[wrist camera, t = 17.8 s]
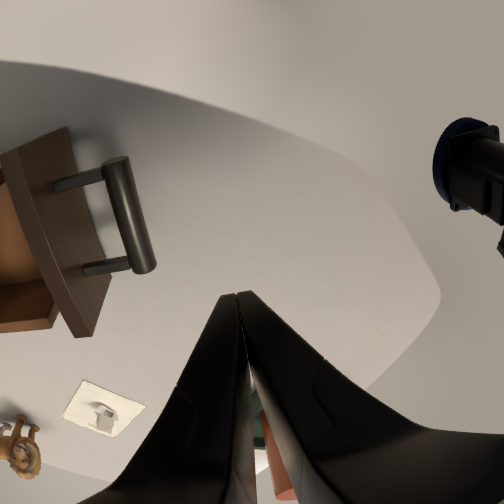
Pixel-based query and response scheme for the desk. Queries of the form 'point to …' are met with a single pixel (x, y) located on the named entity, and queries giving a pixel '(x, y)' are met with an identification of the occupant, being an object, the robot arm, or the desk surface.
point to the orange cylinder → (276, 463)
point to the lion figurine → (21, 449)
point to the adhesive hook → (101, 409)
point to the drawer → (61, 236)
